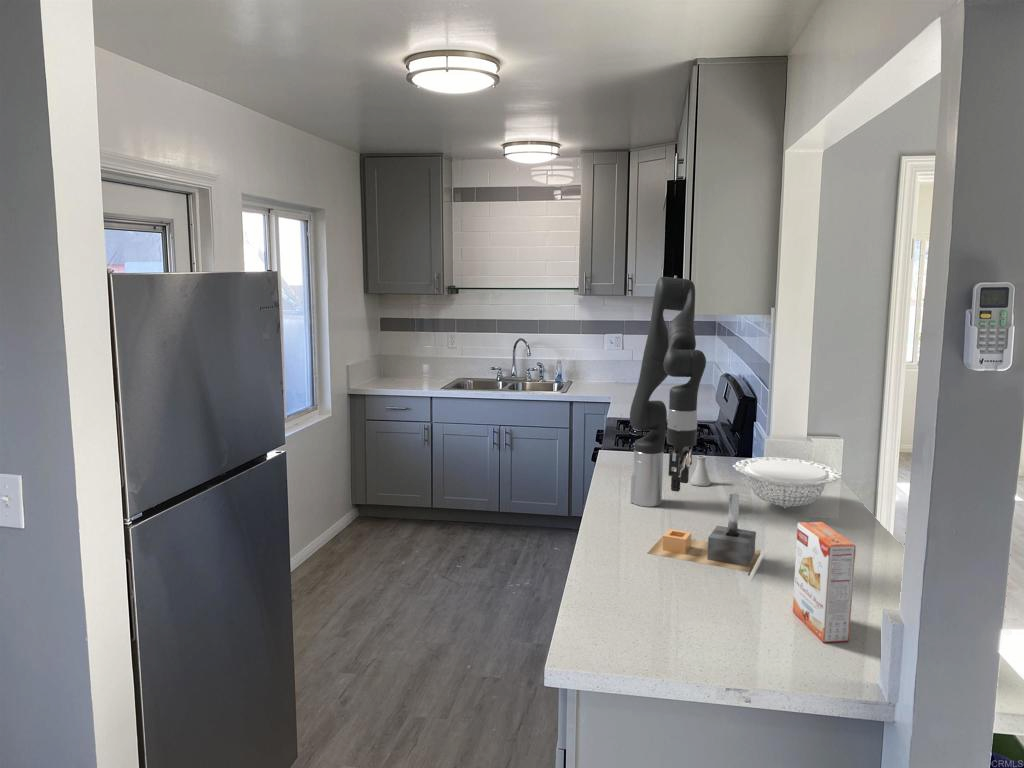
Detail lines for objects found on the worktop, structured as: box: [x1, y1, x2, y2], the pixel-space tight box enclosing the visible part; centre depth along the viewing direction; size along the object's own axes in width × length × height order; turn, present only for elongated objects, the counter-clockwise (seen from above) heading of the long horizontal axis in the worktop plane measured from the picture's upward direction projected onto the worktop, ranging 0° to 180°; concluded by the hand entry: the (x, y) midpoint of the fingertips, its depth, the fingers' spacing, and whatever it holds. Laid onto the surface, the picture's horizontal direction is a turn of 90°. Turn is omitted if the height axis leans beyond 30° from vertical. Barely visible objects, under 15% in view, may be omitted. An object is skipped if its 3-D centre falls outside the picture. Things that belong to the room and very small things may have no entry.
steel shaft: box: [727, 493, 740, 537], centre depth 195 cm, size 2×2×11 cm
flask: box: [689, 454, 712, 487], centre depth 265 cm, size 7×7×10 cm
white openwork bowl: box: [732, 456, 843, 508], centre depth 238 cm, size 32×32×13 cm
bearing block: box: [646, 525, 761, 576], centre depth 199 cm, size 26×16×7 cm, turn 63°
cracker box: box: [792, 521, 857, 643], centre depth 158 cm, size 14×6×21 cm, turn 5°
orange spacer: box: [662, 528, 692, 554], centre depth 201 cm, size 6×6×4 cm
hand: (679, 486), depth 199 cm, fingers open, 8 cm apart
